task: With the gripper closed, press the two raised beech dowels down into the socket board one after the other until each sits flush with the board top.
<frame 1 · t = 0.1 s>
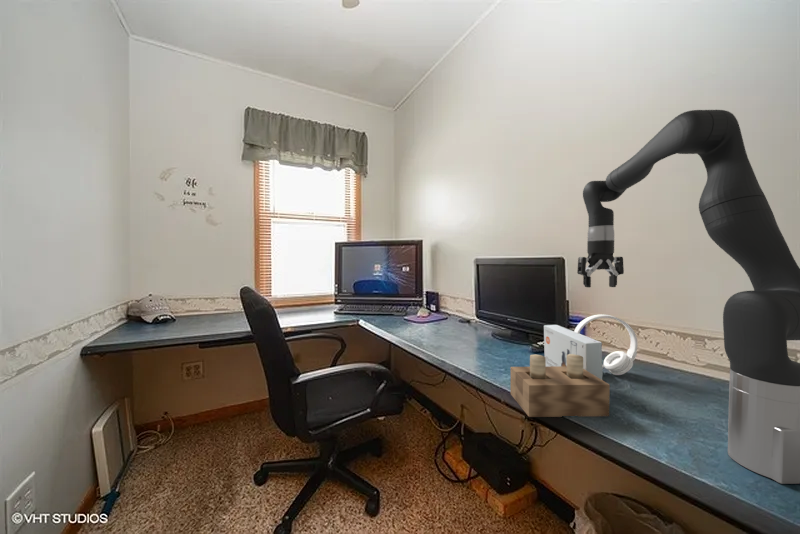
hand: (600, 287, 98), 29 cm above the table, fingers open, 8 cm apart
dowel 1: (574, 371, 77), point 9 cm above the table, slide at 5.0 cm
dowel 2: (537, 371, 77), point 9 cm above the table, slide at 5.0 cm
headphones: (603, 373, 97), on the table
socket board: (556, 404, 77), on the table
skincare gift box: (569, 382, 91), on the table
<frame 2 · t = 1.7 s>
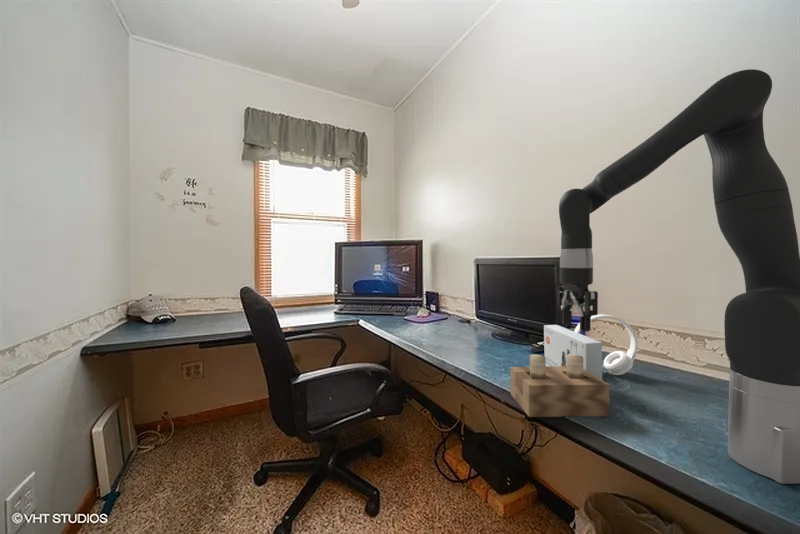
hand: (575, 327, 77), 21 cm above the table, fingers open, 7 cm apart
nothing on the table moved.
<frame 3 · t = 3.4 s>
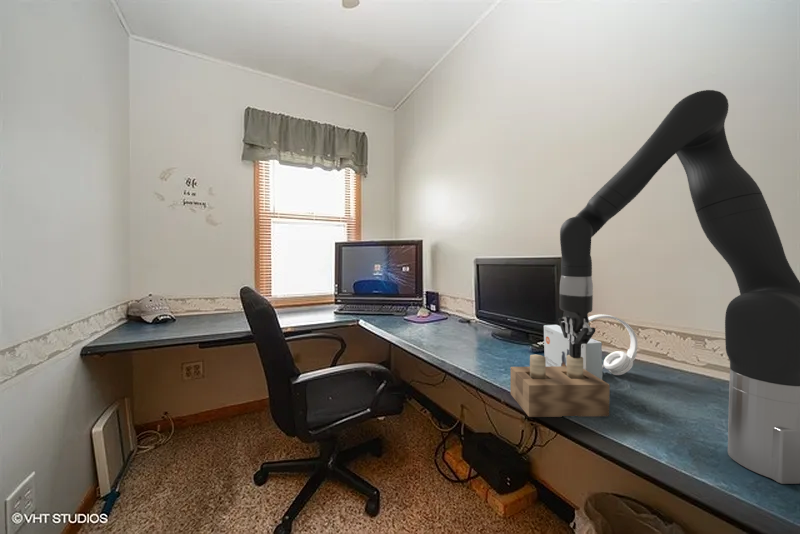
hand: (574, 356, 77), 13 cm above the table, fingers closed
dowel 1: (574, 371, 77), point 9 cm above the table, slide at 4.8 cm, touching gripper
everything else where it was.
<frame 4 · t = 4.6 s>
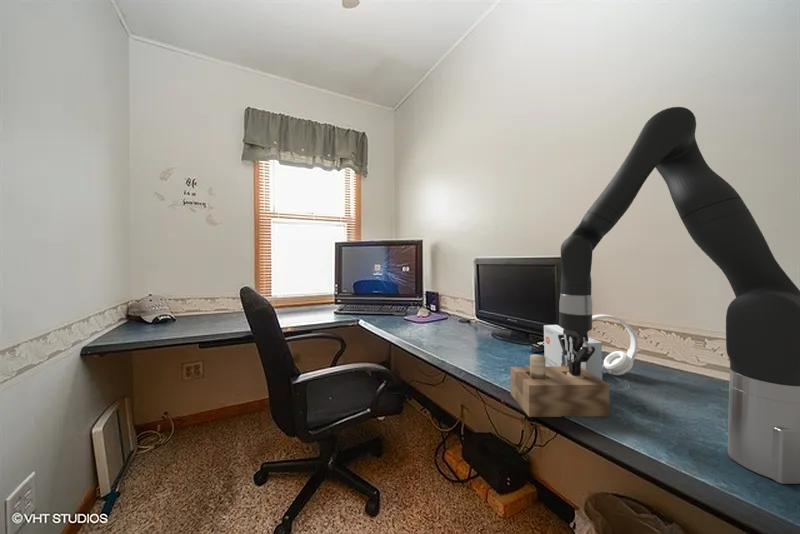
hand: (574, 374, 77), 8 cm above the table, fingers closed
dowel 1: (574, 389, 77), point 4 cm above the table, slide at 0.0 cm, touching gripper
everything else where it was.
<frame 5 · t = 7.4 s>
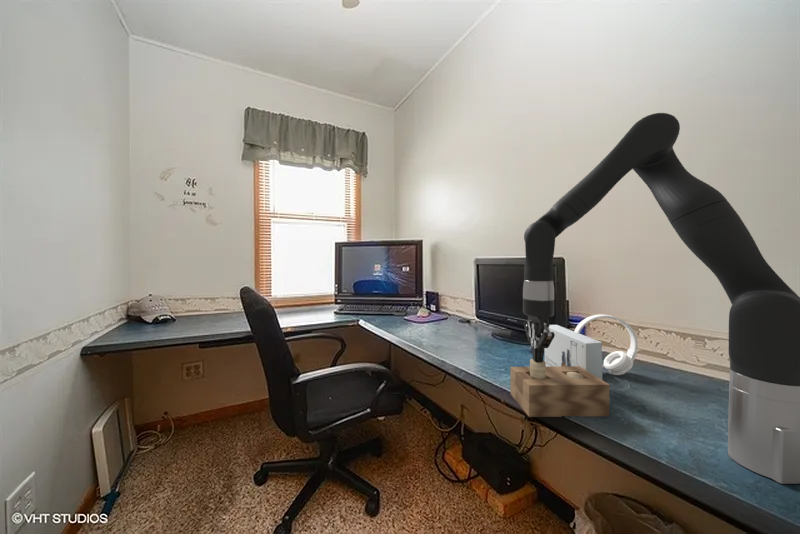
hand: (537, 361, 77), 12 cm above the table, fingers closed
dowel 1: (574, 389, 77), point 4 cm above the table, slide at 0.0 cm
dowel 2: (537, 375, 77), point 8 cm above the table, slide at 3.8 cm, touching gripper
everything else where it was.
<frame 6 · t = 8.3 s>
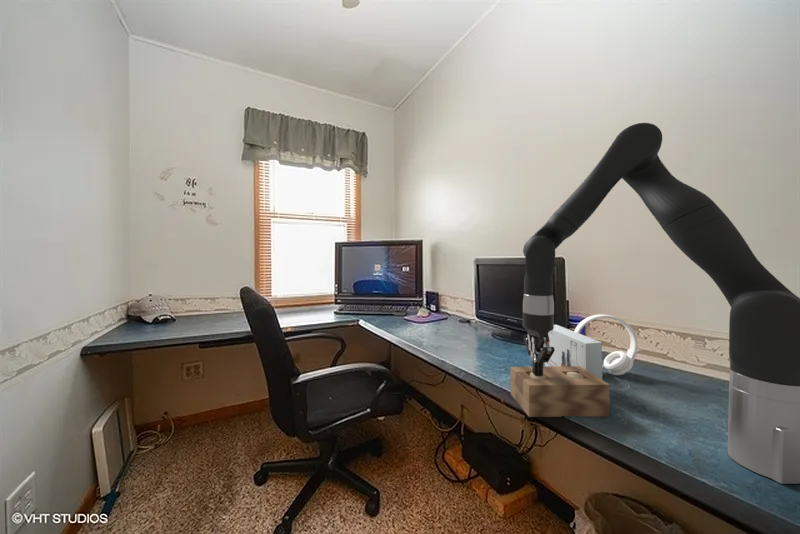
hand: (537, 374, 77), 8 cm above the table, fingers closed
dowel 2: (537, 389, 77), point 4 cm above the table, slide at 0.1 cm, touching gripper
everything else where it was.
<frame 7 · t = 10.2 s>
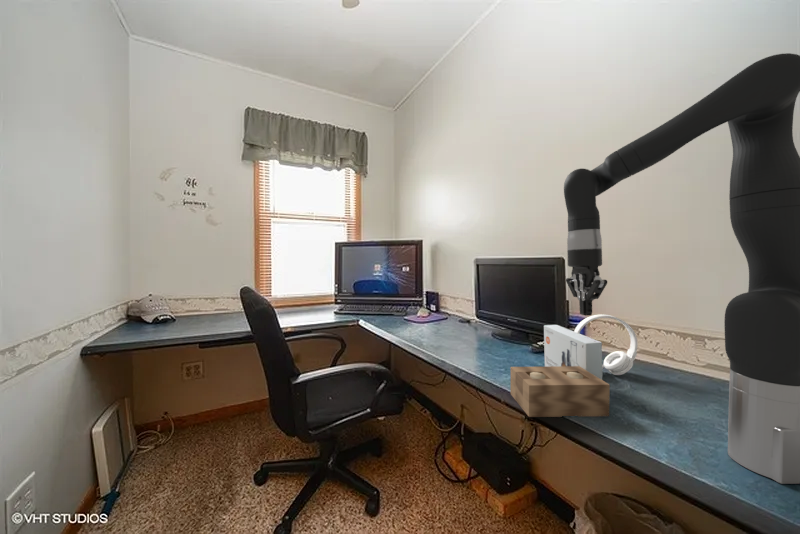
hand: (585, 314, 74), 25 cm above the table, fingers closed
dowel 2: (537, 389, 77), point 4 cm above the table, slide at 0.0 cm
everything else where it was.
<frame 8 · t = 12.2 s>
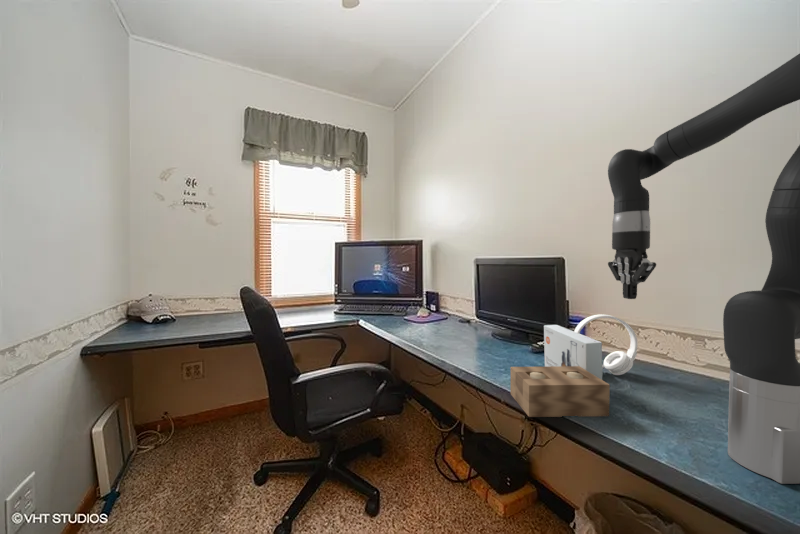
hand: (629, 298, 73), 29 cm above the table, fingers closed
nothing on the table moved.
at the end: dowel 1 slide at 0.0 cm; dowel 2 slide at 0.0 cm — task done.
